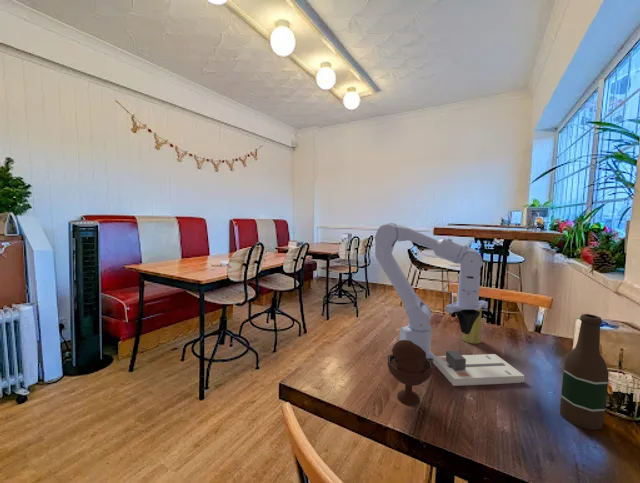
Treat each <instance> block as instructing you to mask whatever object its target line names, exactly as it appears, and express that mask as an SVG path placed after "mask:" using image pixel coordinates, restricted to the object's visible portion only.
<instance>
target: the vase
mask: <svg viewBox="0 0 640 483" xmlns="http://www.w3.org/2000/svg"><path fill="white" fill-rule="evenodd" d="M476 311H479V312H480V315H479V316H478V318H477V319H476V320H475V322H474V324H473V326H472V329H471V332H470V334H465V333H463V332H462V336H461V338H462V340H463V341H464V342H465V343H469V344H471V345H472V344H473V345H475V344H477V345H478V344H480V343H481V342H482V338H481V336H482V334H481V332H482V311H483V308H481V309H480V310H476Z"/></svg>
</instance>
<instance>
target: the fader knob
mask: <svg viewBox="0 0 640 483" xmlns="http://www.w3.org/2000/svg"><path fill="white" fill-rule="evenodd" d="M445 353H446V354H445V356H446V361H447V362H448V363H449V364H450V365H451V366H452V367H453V368H454V369H455V370H465V365H466V359H465V358H464V357H463V356H462V355H463V354H461V353H460V352H458V350H446V352H445Z"/></svg>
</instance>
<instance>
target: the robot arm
mask: <svg viewBox="0 0 640 483" xmlns="http://www.w3.org/2000/svg"><path fill="white" fill-rule="evenodd" d="M406 241H409V242H412V243H414V244H417V245H419V246H423V247H425V248H427V249H431V250H432V251H433V252H434V254H435V256H437V257H439V258H441V259H443V260H446V261H449V263H450V262H451V263H454V264H456V265H458V264H460V271H459V274H458V283H457V284H458V287H457V299H456V300H457V301H455V302H453V303H450V304H447V305H445V312H447V313H448V314H455V315H456V316H457V319H458V323H459V326H460V327H459V328H460V332H461V333H462V334H463V333H465V334H470V332H471V329H472V326H473V324H474V322H475V320H476V319H477V318H478V316H479V315H480V312H479V311H476V310H480V309H481V308H482V309H488V307H489V302H488V301H486V300H483V299H482V300H479V298H480V287H481V286H480V285H481V268H482V266H483V264H484V261H483V257H482V255H481V254H480V252H478V250H476V249H474V248H472V247H469V246H468V245H462V244H459V243H456V242H454V241H453V238H452V239H451V238H449V237H448V238H447V239H446V238H441V239H438V240H437V239H435V238H432V237H431V236H428V235H426V234H424V233H422V232H419V231H416V230H415V229H413V228H410V227H407V226H404V225H402V224H401V225H400V224H399V225H398V224H396V223H393V222H389V223H386V224H385V223H384V224H382V225H380V226H379V227H378V229H377V231H376V233H375V235H374V242H375V248H374V251H375V252H374V255H375V258H376V260H377V262H378V263H379V265H380V266H381V268H382V270H383V272H384V273H385V275H386V277H387V278H388V280H389V281H390V283H391V285H392V286H393V289H394V290H395V291H396V293H397V295H398V296H399V298H400V300H401V302H402V303H403V306H404V307H403V308H404V310H405V313H406V315H407V318H408V319H407V320H408V323H407V325H406V326H402V327H400V329H399V336H398V338H399V340H398V341H400V340H409V341H411V342H413V343H414V344H416V345H418V346H420V347H421V348H422V349H423V350H424V351H425V352H426V358H427V359H429V360H430V359H432V360H433V356H435V354H434V353H433V352H432V351H431V350H432V348H431V346H432V328H433V327H432V325H431V316H432V310H431V308H430V306H429V305H428V304H426V303H424V302H423V300H422V298H421V297H420V296H418V295H417V293H416V292H415V290H414V288H413V287H412V285H411V284H410V282H409V279H407V277H406V276H405V273H404V272H403V270H402V269H401V266H400V265H399V264H398V262H397V261H396V258H395V257H394V255H393V250H394V247H395V244H396V243H397V242H398V243H399V242H406Z"/></svg>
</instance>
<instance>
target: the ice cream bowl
mask: <svg viewBox="0 0 640 483" xmlns="http://www.w3.org/2000/svg"><path fill="white" fill-rule="evenodd" d="M391 351H392V353H391V354H389V355H387V368H388V370H389V373H390V374H391V375H392V376H393V377H394V378H395V380H396V381H398V382H400V383H401V384H403V385H405V386H404V389H401V390H399V391H398V392H397V393H396V397H397V399H398V401H399V402H400V403H402V404H405V405H408V406H415V405H417V404H419V403H420V397H419V396H420V395H419V394H417V393H416V391H413V386H416V387H417V386H420V385H422V384H423V383H425V382H426V381H428V380H429V379H430V377H431V376H432V375H433V372H434V363H433V360H430V359H427V358H426V352H425V351H424V350H423V349H422V348H421V347H420V346H418V345H416V344H414V343H413V342H411V341H409V340H400V341H399V340H398V341H396V342H395V343H394V345H393V346H392V348H391Z"/></svg>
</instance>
